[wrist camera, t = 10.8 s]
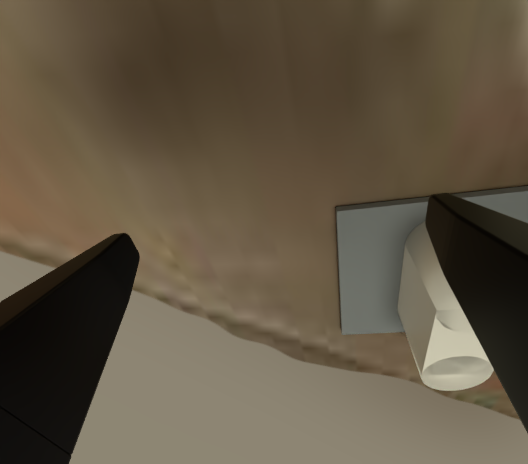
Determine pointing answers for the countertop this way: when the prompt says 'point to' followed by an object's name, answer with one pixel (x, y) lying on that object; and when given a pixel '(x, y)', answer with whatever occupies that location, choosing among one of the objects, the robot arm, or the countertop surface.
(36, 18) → the countertop surface
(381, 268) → the mat
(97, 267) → the robot arm
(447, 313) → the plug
